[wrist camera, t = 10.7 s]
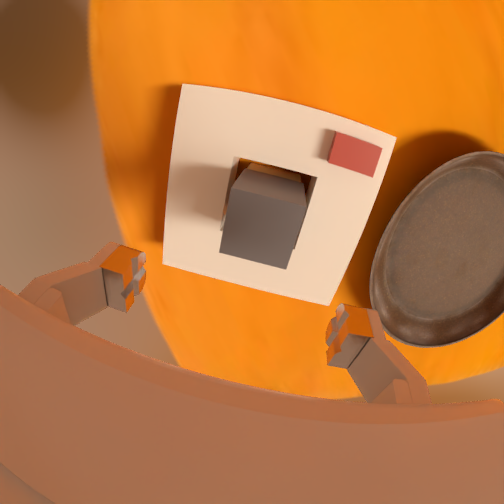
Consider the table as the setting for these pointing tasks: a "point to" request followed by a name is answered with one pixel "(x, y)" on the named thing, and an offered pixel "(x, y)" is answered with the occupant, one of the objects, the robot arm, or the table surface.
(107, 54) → the table surface
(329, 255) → the socket plate
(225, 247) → the plug
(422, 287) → the plant saucer
